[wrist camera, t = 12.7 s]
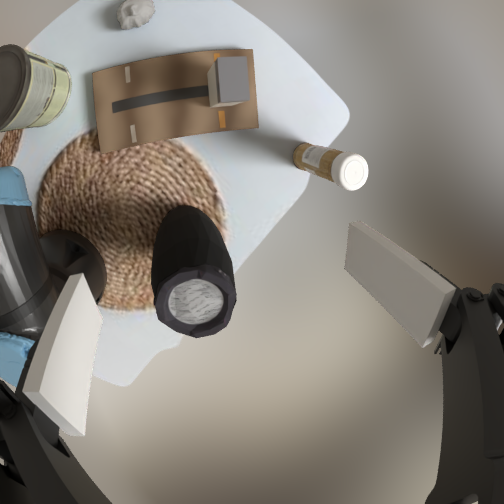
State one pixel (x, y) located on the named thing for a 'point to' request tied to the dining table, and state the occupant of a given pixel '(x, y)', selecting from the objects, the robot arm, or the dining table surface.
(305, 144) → the sprinkles bottle
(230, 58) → the fader knob
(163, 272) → the portable speaker
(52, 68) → the coffee can
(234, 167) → the dining table surface
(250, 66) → the fader board
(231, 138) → the dining table surface
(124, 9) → the garlic
